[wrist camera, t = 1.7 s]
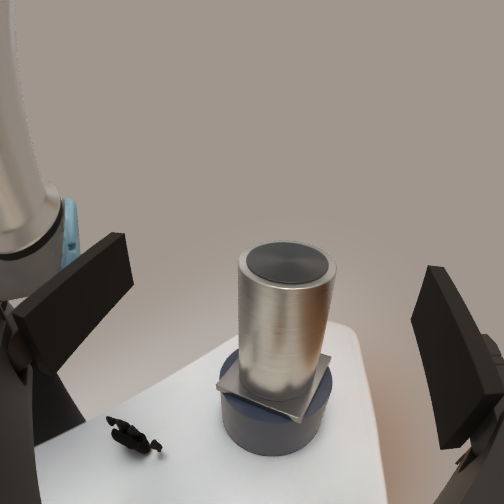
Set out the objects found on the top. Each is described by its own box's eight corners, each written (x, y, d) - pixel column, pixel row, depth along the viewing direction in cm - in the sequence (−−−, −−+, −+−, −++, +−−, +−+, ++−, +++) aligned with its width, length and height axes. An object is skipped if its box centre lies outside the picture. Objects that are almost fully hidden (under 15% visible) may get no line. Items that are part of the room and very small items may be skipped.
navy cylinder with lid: (204, 430, 30) (196, 388, 26) (251, 368, 39) (252, 322, 35) (297, 470, 25) (310, 435, 22) (332, 396, 34) (346, 351, 30)
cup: (224, 383, 27) (218, 269, 21) (260, 337, 33) (264, 232, 27) (298, 412, 24) (320, 299, 18) (324, 358, 30) (346, 251, 24)
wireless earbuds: (170, 455, 26) (160, 433, 24) (158, 473, 24) (146, 453, 22) (118, 428, 29) (104, 404, 26) (106, 443, 26) (90, 420, 24)
